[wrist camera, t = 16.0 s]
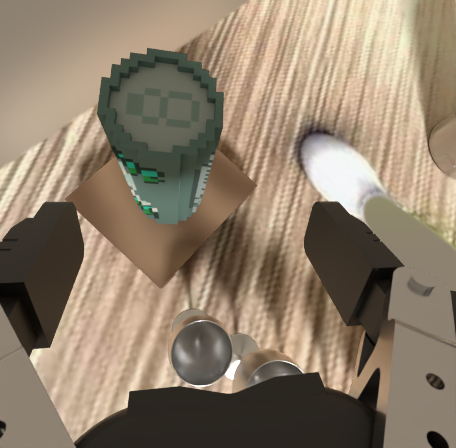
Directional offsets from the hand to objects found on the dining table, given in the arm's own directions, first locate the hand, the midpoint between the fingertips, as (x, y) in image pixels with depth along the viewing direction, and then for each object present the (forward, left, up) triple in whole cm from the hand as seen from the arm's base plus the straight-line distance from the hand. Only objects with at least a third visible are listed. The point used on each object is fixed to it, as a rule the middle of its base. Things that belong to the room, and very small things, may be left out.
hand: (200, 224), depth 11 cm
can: (-4, -6, -19) cm, 20 cm away
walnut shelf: (-4, -6, -24) cm, 25 cm away
